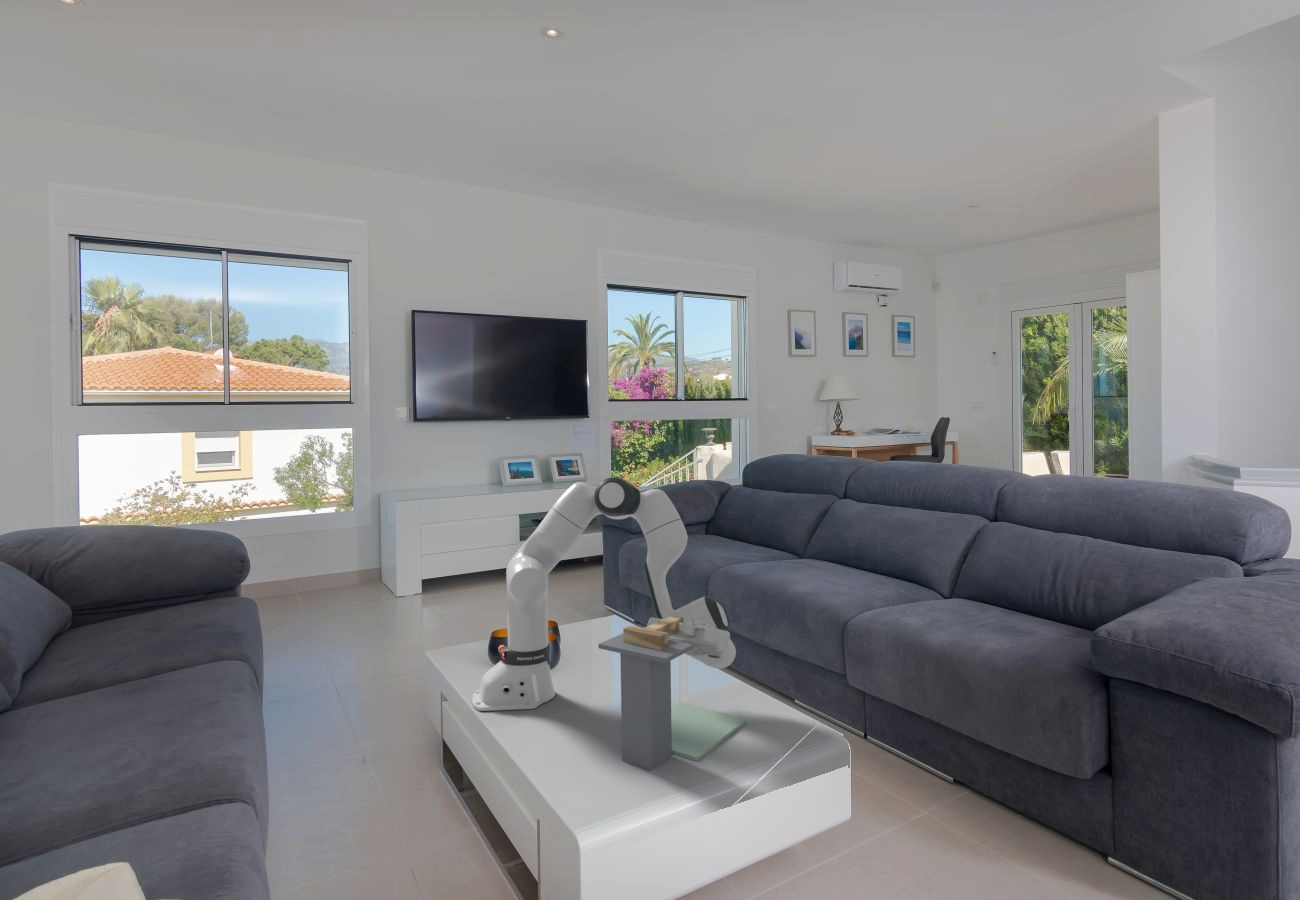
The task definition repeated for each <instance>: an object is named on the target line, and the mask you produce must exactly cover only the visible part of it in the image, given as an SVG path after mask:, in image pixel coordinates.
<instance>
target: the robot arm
mask: <svg viewBox="0 0 1300 900" xmlns="http://www.w3.org/2000/svg"><path fill="white" fill-rule="evenodd" d="M598 515H601V516H604V517H607V518H609V519H611V520H615V521H626V520H628V519H631V518H633V519H635V520H636V522H637V523H638V525H639V527H640V529H641V531H642V534H643V536H644V538H645V542H646V545H647V554H646V556H645V558H644V560H643V565H644V566H643V567H644V573H645V577H646V581H647V585H648V589H649V594H650V597H651V601H652V605H653V608H654V613H655V616H654V617H649V619H648V622H647V624H646V627H647V626H650V625H652V624H654V623H657V622H659V621H661V620H664V619H666V618H668V617H670V616H678V617H683V623H681V622H677V623H676V627H675V628H676V630H678V631H680V632H678V633H676V634H674V635H672V636H669V637H668V639H669V640H673V641H678V642H683V643H688V644H693V649H692V650H690V651H688V652H686V653H684V654H685V655H687V656H689V657H690V658H692V659H695V660H696V661H700V662H701V663H703V664H704V665H705V666H708V667H710V668H713V669H719V670H720V669H725V668H727V667H729V666H730V665H731V664H732V663H733V662H734V660H735V658H736V655H737V649H736V646H735V644H734V643H733V641H732V640H731V633H730V632H729V628H730V622H729V621H730V620H729V617H728V614H727V611H726V609H725V607H724V606H723V605H722V604H721V602H720V601H719V600H717V599H715V598H714V597H712V596H709V595H705V596H702V597H700V598H698V599H696V600H693V601H690V602H689V603H688V604H685V605H683V606H681V607H679V608H677V609H674V608H673V605H672V601H671V597H670V594H669V590H668V586H667V583H666V580H667V579H666V577H667V574H668V571H669V570H670V569H671V567H672V566H673V565H674V564H675V563H676V562H677V560H678V559H679V558H680V557H681V556H682V555H683V553H684V551H685V550H686V548H687V544H688V540H689V539H688V538H689V537H688V533H687V530H686V528H685V525H684V521H682V518H681V516H680V514H679V513H678V510H677V509H676V507H675V504H673V502H672V500H671V499H670V497H669V496H668V494H666V492H665V491H664V490H662V489H660V488H650V489H647V490H645V491H642V492H641V491H640V490H639V489H638V488H637V487H635V486H634V485H632V484H631V483H630V482H629V481H627V480H625V479H623V478H621V477H616V476H614V477H613V476H612V477H607V478H604V479H603V480H602V481H600V483H598V485H597V486H596V487H594V486H592V485H591V484H589V483H587V482H583V481H577V482H574V483H573V484H572V485H571V486H568V488H566V490H565V491H564V492H563V493H562V494H561V495H560V496H559V498H557V500H556V501H555V503H554V504H553V505H552V507H551V508H550V509H549V511H548V512H547V514H546V515H545V516H544V517H543V519H542V520H541V522H540V523H539V525H538V526H537V527H536V528H535V530H534V531H533V532H532V534H530V536H529V537H528V538H527V539H526V541H525V542H524V543H523V544H522V545H521V546H520V547H519V549H518V550H517V551H516V553H515V554H514V555H513V556H512V558H511V559H510V560H509V561H508V562H507V563H508V564H507V565H506V566H507V567H506V571H505V574H506V577H505V578H506V606H507V607H506V609H507V610H506V611H507V612H506V615H507V617H506V618H507V620H506V621H507V646H505V644H501V645H499V646H498V653H499V654H500V660H499V662H497V663H496V664H494V666H493V667H491V668H490V669H488V670H487V671H486V672H485V673H484V674H483V677H482V679H481V682H480V686H479V687H480V688H478V689H477V690H475V691H474V692H473V695H472V699H471V700H472V701H471V704H472V706H473V708H474V709H475V710H477V711H480V712H485V711H486V712H488V711H489V712H490V711H492V712H493V711H511V710H512V711H513V710H516V711H517V710H533V709H534V710H535V709H537V708H538V707H540V705H542V704H544V703H547V702H548V701H551V700H552V699H553V698H554V697H556V690H555V688H554V685H553V680H552V675H551V667H550V665H551V658H552V657H551V656H552V655H551V646H550V642H549V621H548V620H549V619H548V617H549V574H550V573H551V572H552V570H554V568H555V567H556V566H557V564H559V562H561V560H563V558H564V557H565V556H566V555H567V554H569V552H570V551H571V550H572V548H573V547H574V545H575V544H576V542H577V541H578V540H579V538H580V537H581V536H582V534H583V533H584V532H585V530H586V528H587V527H588V525H589V524H590V522H592V520H593V519H594V518H595V517H597V516H598Z"/></svg>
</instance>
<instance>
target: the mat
mask: <svg viewBox="0 0 1300 900" xmlns="http://www.w3.org/2000/svg"><path fill="white" fill-rule="evenodd" d="M747 721H748V719H747V718H745V717H741V716H738V715H737V716H736V715H733V714H730V713H729V714H728V713H726V712H721V711H717V710H714V709H710V708H707V707H702V706H698V705H694V704H691V703H687V702H683V701H678V702H676V703H675V704H673V705H671V730H672V755H676V756H680V757H683V758H686V759H689V760H692V761H695V762H698V761H699V760H700V759H702V758H703V757H704V756H705V755H707V754H708V753H710V751H712V750H713V749H714V748H716V747H717V746H718V745H719V744H721V743H722V742H723V741H725V740H726V739H727V738H728V737H730V736H731V735H732V734H733V733H735V732H736V731H737V730H738V729H740V728H741V727H742V726H744V725H745V724H747V723H748V722H747Z"/></svg>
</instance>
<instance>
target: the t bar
mask: <svg viewBox="0 0 1300 900" xmlns="http://www.w3.org/2000/svg"><path fill="white" fill-rule="evenodd" d="M677 622H681V623H683V617H678V616H670V617H668V618H666V619H664V620H661V621H659V622H657V623H654V624H652V625H650V626H647V625H646V626H645V627H640V626H635V625H629V626H627V627H624V628H623V631H622V634H623V640H624V642H625V643H630V644H635V645H639V646H644V647H649V648H653V649H658V650H661V649H663V648H665V647H667V646H668V637H669V636H672V635H674V634H676V633H678V632H680V631H678V630H676V628H675V627H676V623H677Z"/></svg>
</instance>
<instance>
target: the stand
mask: <svg viewBox="0 0 1300 900" xmlns="http://www.w3.org/2000/svg"><path fill="white" fill-rule="evenodd" d="M598 649H601V650H605V651H608V652H613V653H617V654H620V696H621V697H620V703H621V704H620V706H621V707H620V709H621V711H620V712H621V757H622V758H621V761H622V762H625V763H627V764H628V763H629V764H631V765H634V766H637V767H640V768H642V769H646V770H648V771H653V770H654V769H656V768H657V767H658V766H660V765H662V764H663V763H664V762H665V761H667V760H668V759H669V758H671V757H672V756H673V753H672V730H671V706H672V677H671V675H672V672H671V671H672V668H671V667H672V666H671V665H672V663H671V661H673V660H675V659H676V658H678V657H680V656H682V655H684V654H685V653H686V652H688V651H690V650H692V649H693V644H688V643H683V642H678V641H673V640H669V639H668V646H667V647H665V648H663V649H661V650H658V649H653V648H649V647H644V646H639V645H635V644H630V643H625V642H624V640H623V633H621V634H619V635H616V636H613V637H612V638H609V639H606V640H604V641H602V642H600V643H598Z"/></svg>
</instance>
